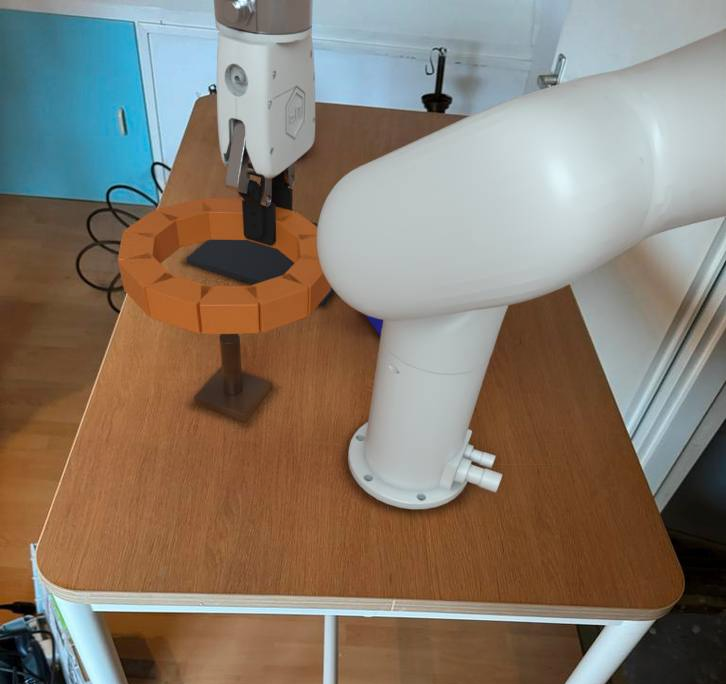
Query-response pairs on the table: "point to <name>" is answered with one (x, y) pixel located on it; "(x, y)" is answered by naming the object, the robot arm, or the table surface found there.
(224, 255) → the mat
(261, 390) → the stand
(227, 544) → the table surface
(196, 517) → the table surface
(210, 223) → the ring
